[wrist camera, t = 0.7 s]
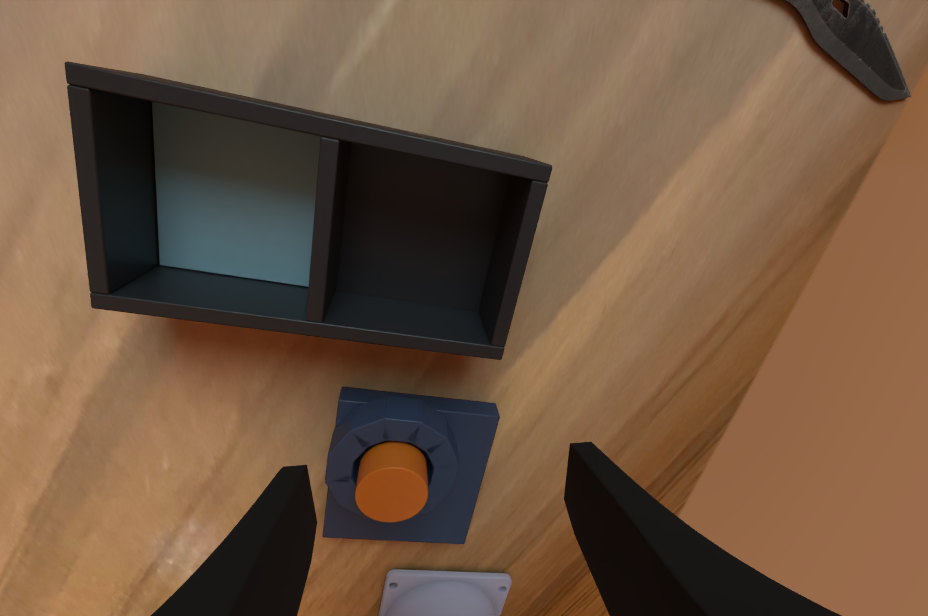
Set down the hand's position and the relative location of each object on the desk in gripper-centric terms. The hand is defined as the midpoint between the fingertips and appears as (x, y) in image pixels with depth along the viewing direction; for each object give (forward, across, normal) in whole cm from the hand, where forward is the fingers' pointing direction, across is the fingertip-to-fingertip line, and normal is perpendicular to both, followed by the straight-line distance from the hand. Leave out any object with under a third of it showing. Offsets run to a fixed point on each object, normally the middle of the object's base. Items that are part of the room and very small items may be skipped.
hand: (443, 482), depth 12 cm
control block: (+10, +1, +8) cm, 13 cm away
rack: (+10, +4, -6) cm, 12 cm away
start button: (+7, +2, +6) cm, 10 cm away
